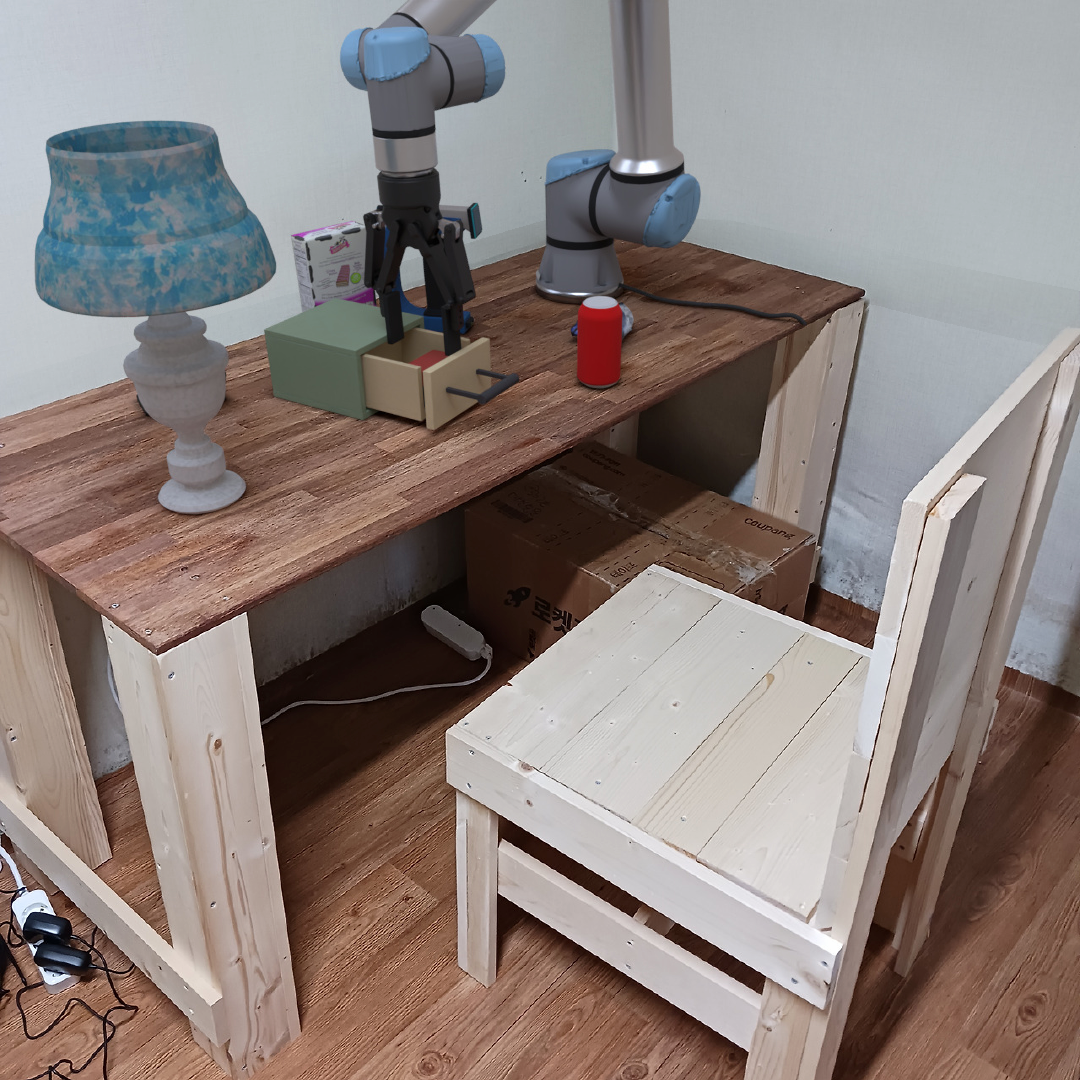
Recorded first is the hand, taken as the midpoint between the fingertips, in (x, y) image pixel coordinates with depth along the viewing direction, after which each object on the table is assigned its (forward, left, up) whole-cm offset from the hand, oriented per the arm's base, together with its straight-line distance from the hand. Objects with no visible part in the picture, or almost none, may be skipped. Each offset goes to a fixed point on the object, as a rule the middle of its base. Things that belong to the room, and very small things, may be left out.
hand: (424, 346), depth 141 cm
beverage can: (-22, -12, -9) cm, 26 cm away
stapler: (-1, +1, -7) cm, 7 cm away
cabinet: (+12, -4, -9) cm, 16 cm away
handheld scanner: (+7, -30, -9) cm, 32 cm away
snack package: (-21, -30, -9) cm, 37 cm away
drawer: (-2, +1, -8) cm, 8 cm away
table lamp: (+19, +29, -9) cm, 35 cm away
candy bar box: (+21, -25, -9) cm, 34 cm away
